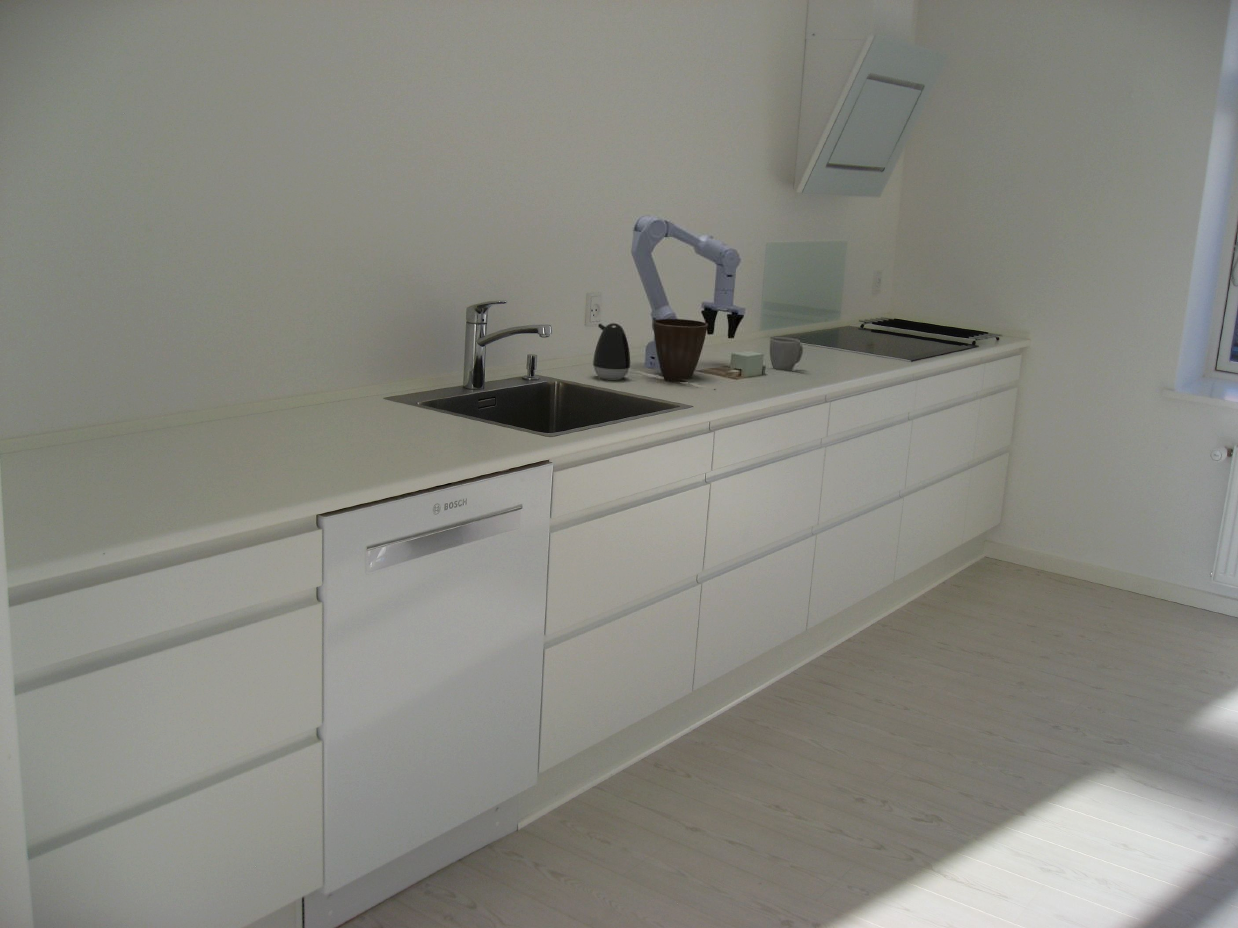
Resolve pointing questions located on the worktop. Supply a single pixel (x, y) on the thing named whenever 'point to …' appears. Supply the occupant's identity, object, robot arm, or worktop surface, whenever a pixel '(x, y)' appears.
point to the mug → (785, 353)
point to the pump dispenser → (612, 353)
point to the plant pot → (678, 346)
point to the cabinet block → (747, 363)
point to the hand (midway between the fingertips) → (720, 336)
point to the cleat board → (721, 372)
